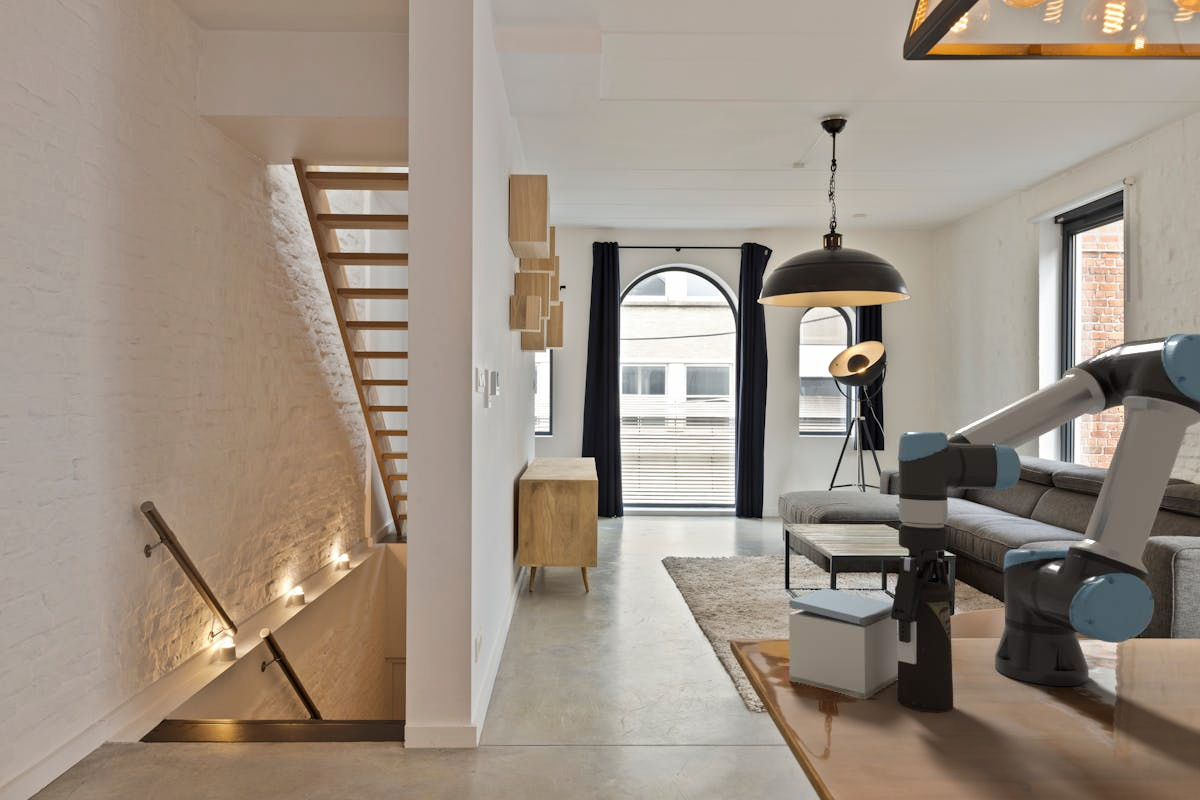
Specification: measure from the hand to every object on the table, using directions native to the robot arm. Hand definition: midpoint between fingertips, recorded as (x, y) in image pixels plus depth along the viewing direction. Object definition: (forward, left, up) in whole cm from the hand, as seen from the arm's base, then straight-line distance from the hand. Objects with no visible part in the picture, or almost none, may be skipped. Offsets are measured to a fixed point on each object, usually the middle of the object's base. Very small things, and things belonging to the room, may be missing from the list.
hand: (922, 653), depth 128 cm
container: (0, 0, -9) cm, 9 cm away
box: (+15, -2, -8) cm, 17 cm away
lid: (+15, -2, +4) cm, 15 cm away
